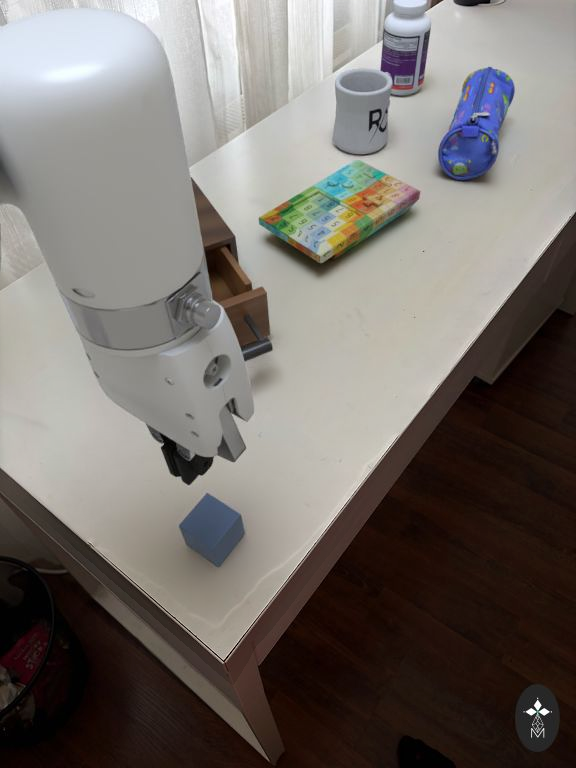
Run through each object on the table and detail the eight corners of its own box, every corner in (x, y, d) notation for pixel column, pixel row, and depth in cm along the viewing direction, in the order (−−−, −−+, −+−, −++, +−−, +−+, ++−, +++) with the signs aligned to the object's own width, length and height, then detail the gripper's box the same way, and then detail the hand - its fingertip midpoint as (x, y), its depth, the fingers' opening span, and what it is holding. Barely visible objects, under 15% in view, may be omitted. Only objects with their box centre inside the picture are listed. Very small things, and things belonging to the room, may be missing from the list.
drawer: (292, 366, 67) (290, 324, 62) (199, 405, 64) (189, 364, 59) (226, 269, 78) (219, 227, 73) (144, 298, 75) (131, 256, 70)
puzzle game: (421, 185, 82) (319, 250, 74) (416, 213, 86) (319, 279, 78) (359, 154, 88) (258, 212, 79) (357, 182, 91) (260, 240, 83)
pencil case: (488, 190, 89) (504, 129, 81) (431, 180, 91) (441, 120, 83) (507, 119, 101) (523, 61, 94) (457, 112, 103) (468, 54, 96)
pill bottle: (403, 73, 113) (412, -12, 102) (431, 89, 109) (445, 1, 98) (369, 85, 111) (376, -1, 100) (397, 102, 107) (407, 13, 95)
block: (218, 567, 54) (212, 550, 51) (185, 544, 55) (177, 525, 52) (245, 533, 56) (241, 514, 52) (212, 511, 57) (207, 492, 54)
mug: (365, 162, 95) (370, 100, 87) (321, 144, 98) (322, 83, 91) (408, 131, 100) (416, 70, 92) (365, 115, 104) (369, 55, 96)
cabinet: (242, 290, 77) (235, 236, 70) (150, 323, 74) (134, 270, 67) (201, 229, 85) (191, 176, 78) (116, 257, 82) (99, 204, 75)
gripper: (295, 298, 30) (301, 478, 44) (91, 205, 36) (154, 391, 50) (201, 395, 26) (240, 557, 41) (-11, 275, 32) (89, 454, 46)
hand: (193, 465), depth 45 cm, fingers closed
